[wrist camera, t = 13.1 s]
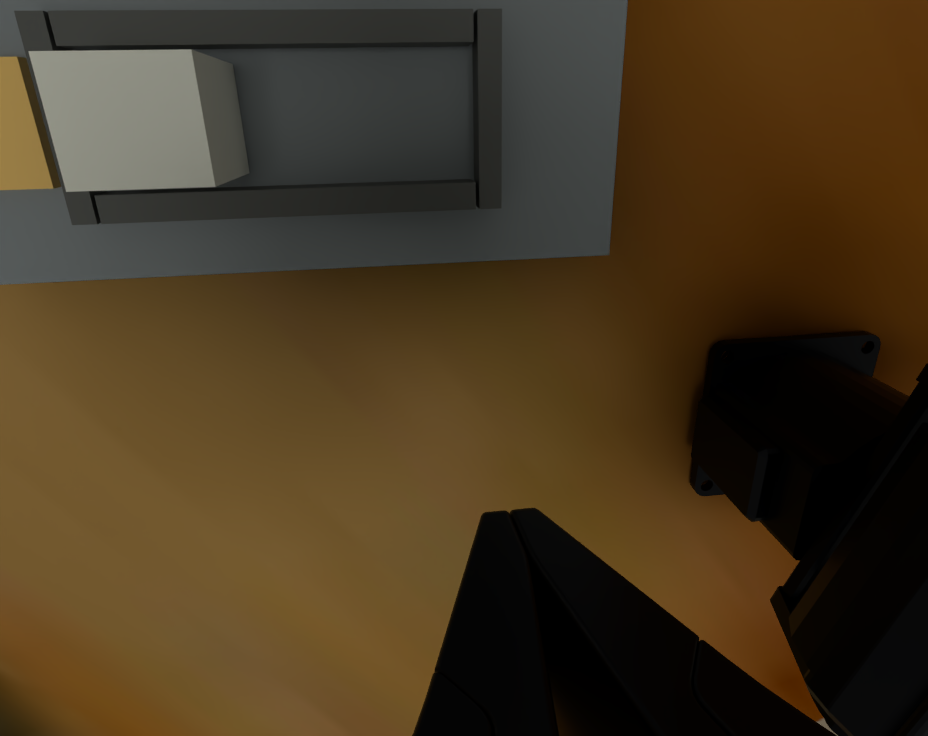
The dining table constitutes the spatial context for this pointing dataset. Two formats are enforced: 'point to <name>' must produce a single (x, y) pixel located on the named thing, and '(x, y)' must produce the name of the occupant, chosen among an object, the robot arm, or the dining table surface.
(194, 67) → the slider
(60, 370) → the dining table surface
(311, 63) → the switch unit
